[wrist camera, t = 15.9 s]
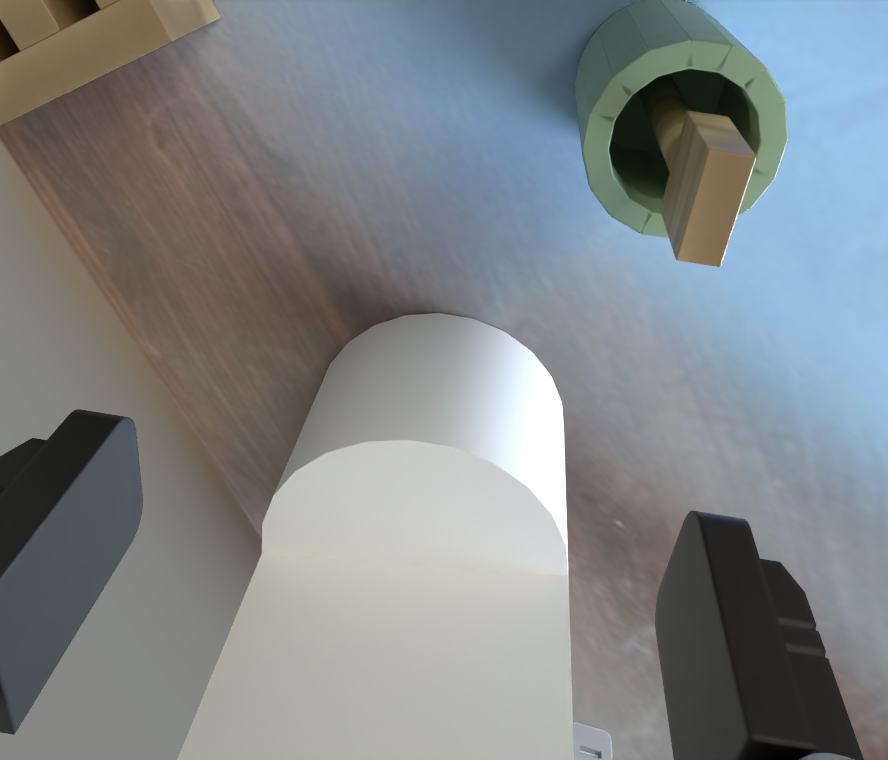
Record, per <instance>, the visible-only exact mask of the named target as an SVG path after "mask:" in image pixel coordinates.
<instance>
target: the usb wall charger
mask: <svg viewBox="0 0 888 760" xmlns="http://www.w3.org/2000/svg"><path fill="white" fill-rule="evenodd" d="M573 746H574V760H613V757H612V743H611V737H610V735H609V734H608V733H607V732H606V731H604V730H601V729H598V728H594V727H590V726H587V725H583V724H580V723H576V722H573Z"/></svg>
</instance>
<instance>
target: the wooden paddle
mask: <svg viewBox="0 0 888 760" xmlns="http://www.w3.org/2000/svg"><path fill="white" fill-rule="evenodd" d="M638 93H639V95H640V98H641V100H642V103H643V106H644V108H645V111H646V113H647V116H648V118H649V121H650V123H651V126H652V128H653V131H654V134H655V136H656V139H657V141H658V144H659V146H660V149H661V151H662V154H663V157H664V159H665V162H666V164H667V167H668V169H669V172H670V175H669V178H668V182H667V186H666V189H665V193H664V197H663V200H662V204H661V208H660V211H661V215H662V218H663V221H664V224H665V227H666V230H667V233H668V236H669V239H670V243H671V246H672V249H673V252H674V255H675V258H676V260H678V261H684V262H691V263H697V264H704V265H710V266H717V267H720V266H721V264H722V261H723V258H724V255H725V252H726V249H727V246H728V243H729V240H730V237H731V233H732V230H733V227H734V224H735V221H736V218H737V215H738V212H739V209H740V206H741V203H742V200H743V197H744V194H745V191H746V188H747V185H748V182H749V179H750V176H751V173H752V170H753V167H754V164H755V161H756V155H755V154H754V152H753V151H752V150H751V148H750V147H749V145H748V144H747V142H746V141H745V140H744V138H743V137H742V135H741V134H740V133H739V131H738V130H737V128H736V127H735V125H734V124H733V123H732V121H731V120H730V118H729V117H727V116H720V115H714V114H707V113H700V112H693V111H691V110H690V108H689V107H688V105H687V103H686V101H685V100H684V98H683V96H682V94H681V93H680V91H679V89H678V87H677V86H676V84H675V82H674V81H673V79H672V77H671V75H670V74H666V75H662V76H659V77H657V78H655V79H654V80H653V81H651V82H650V83H648V84H647V85H646V86H644V87H643V88H641V89H640V90H639V91H638Z"/></svg>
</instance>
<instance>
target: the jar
mask: <svg viewBox="0 0 888 760" xmlns="http://www.w3.org/2000/svg"><path fill="white" fill-rule="evenodd" d="M666 74H670V75H671V77H672V79H673V81H674V82H675V84H676V86H677V87H678V89H679V91H680V93H681V94H682V96H683V98H684V100H685V101H686V103H687V105H688V107H689V108H690V110H691V111H693V112H700V113H707V114H714V115H720V116H727V117H729V118H730V120H731V121H732V123H733V124H734V125H735V127H736V128H737V130H738V131H739V133H740V134H741V135H742V137H743V138H744V140H745V141H746V142H747V144H748V145H749V147H750V148H751V150H752V151H753V152H754V154H755V155H756V161H755V164H754V167H753V170H752V173H751V176H750V179H749V182H748V185H747V188H746V191H745V194H744V197H743V200H742V203H741V206H740V209H739V212H738V215H737V217H739V216H740V215H742V214H743V213H745V212H747V211H748V209H749V210H750V209H751V208H752V206H753V205H754V204H755V203H756V201H757V200H758V199H759V198H760V197H761V195H762V194H763V193H764V192H765V190H766V189H767V188H768V187H769V186H770V184H771V183H772V182H773V181H774V179H775V177H776V175H777V172H778V169H779V166H780V163H781V160H782V157H783V154H784V151H785V148H786V145H787V142H788V128H787V115H786V102H785V101H784V97H783V95H782V94H781V92H780V90H779V88H778V87H777V85H776V83H775V81H774V80H773V78H772V76H771V74H770V73H769V71H768V69H767V68H766V67H765V65H764V64H763V63H761V62H760V61H759V60H758V59H757V58H756V57H755V56H754V55H753V54H752V53H751V52H750V51H749V50H748V49H747V48H745V47H744V46H743V45H742V44H741V43H740V42H739V41H738V40H737V39H736V38H735V37H734V36H733V35H732V34H731V33H730V32H729V31H727V30H726V29H725V28H724V27H723V26H722V25H721V24H720V23H719V22H718V21H717V20H716V19H714V18H713V17H711V16H710V15H708V14H707V13H705V12H704V11H703V10H702V9H700V8H698V7H696V6H695V5H693V4H692V3H689V2H685V1H681V0H644V1H640V2H637V3H634V4H631V5H629V6H627V7H625V8H623V9H621V10H619V11H618V12H616V13H615V14H613V15H612V16H611V17H610V18H608V19H607V20H606V21H605V22H604V23H603V24H602V25H601V26H600V27H599V28H598V29H597V30H596V31H595V33H594V34H593V36H592V37H591V38H590V40H589V41H588V43H587V45H586V47H585V49H584V51H583V53H582V55H581V58H580V61H579V65H578V69H577V76H576V83H575V97H576V105H577V114H578V122H579V131H580V139H581V147H582V154H583V159H584V164H585V169H586V174H587V179H588V184H589V186H590V189H591V190H592V192H593V193H594V194H595V196H596V197H597V199H598V200H599V201H600V203H601V204H602V206H603V207H604V208H605V210H606V211H607V213H608V214H609V215H611V217H613V218H615V219H616V220H618V221H620V222H621V223H623V224H625V225H626V226H628V227H630V228H631V229H633V230H635V231H636V232H638V233H641V234H644V235H651V236H658V237H665V238H669V236H668V233H667V230H666V227H665V224H664V221H663V218H662V215H661V211H660V208H661V204H662V200H663V197H664V193H665V189H666V186H667V182H668V178H669V175H670V172H669V169H668V167H667V164H666V162H665V159H664V157H663V154H662V151H661V149H660V146H659V144H658V141H657V139H656V136H655V134H654V131H653V128H652V126H651V123H650V121H649V118H648V116H647V113H646V111H645V108H644V106H643V103H642V100H641V98H640V95H639V93H638V91H639V90H640V89H641V88H643V87H644V86H646V85H647V84H648V83H650V82H651V81H653V80H654V79H655V78H657V77H659V76H662V75H666Z"/></svg>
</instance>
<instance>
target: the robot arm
mask: <svg viewBox="0 0 888 760" xmlns="http://www.w3.org/2000/svg"><path fill="white" fill-rule="evenodd" d="M142 507H143V495H142V486H141V475H140V465H139V455H138V445H137V436H136V428H135V424H134V422H133V420H132V419H131V418H129V417H123V416H117V415H111V414H105V413H98V412H92V411H86V410H75V411H73V412H72V413H71V414H70V415H69V416H68V417H67V418H66V419H65V420H64V422H63V423H62V424H61V425H60V426H59V427H58V428H57V429H56V431H55V432H54V433H53V434H52V435H51V436H50V438H49V439H48V440H42V439H36V438H32V439H30V440H28V441H26V442H25V443H23V444H21V445H19V446H18V447H16V448H14V449H12V450H11V451H9V452H7V453H5V454H4V455H2V456H0V732H2V733H8V734H15V733H16V731H17V730H18V728H19V726H20V725H21V723H22V721H23V720H24V718H25V716H26V715H27V713H28V712H29V710H30V708H31V707H32V705H33V703H34V702H35V700H36V698H37V697H38V695H39V694H40V692H41V690H42V689H43V687H44V685H45V684H46V682H47V680H48V679H49V677H50V675H51V674H52V672H53V670H54V669H55V667H56V666H57V664H58V662H59V661H60V659H61V657H62V656H63V654H64V653H65V651H66V649H67V648H68V646H69V644H70V643H71V641H72V639H73V638H74V636H75V635H76V633H77V631H78V629H79V628H80V626H81V625H82V623H83V621H84V620H85V618H86V616H87V615H88V613H89V612H90V610H91V608H92V607H93V605H94V603H95V602H96V600H97V598H98V597H99V595H100V593H101V592H102V590H103V589H104V587H105V585H106V584H107V582H108V580H109V578H110V577H111V576H112V573H113V572H114V571H115V569H116V567H117V566H118V564H119V562H120V561H121V559H122V557H123V556H124V554H125V553H126V551H127V549H128V547H129V546H130V544H131V542H132V541H133V539H134V537H135V535H136V532H137V530H138V527H139V523H140V519H141V514H142ZM655 628H656V636H657V643H658V650H659V657H660V664H661V671H662V678H663V686H664V693H665V700H666V707H667V714H668V721H669V728H670V735H671V742H672V750H673V757H674V760H864V759H863V756H862V754H861V751H860V748H859V745H858V742H857V739H856V737H855V734H854V731H853V728H852V725H851V722H850V719H849V717H848V714H847V711H846V708H845V705H844V702H843V700H842V697H841V694H840V691H839V688H838V685H837V682H836V680H835V677H834V674H833V671H832V668H831V665H830V663H829V660H828V659H827V658H825V652H826V651H825V648H824V646H823V643H822V640H821V637H820V634H819V631H816V623H815V620H814V617H813V614H812V611H811V609H810V606H809V603H808V600H807V597H806V594H805V592H804V591H803V590H802V588H801V587H800V586H799V585H798V584H797V582H796V581H795V580H794V579H793V577H792V576H791V575H790V574H789V572H788V571H787V570H786V569H785V568H784V566H783V565H782V564H781V563H780V562H777V561H771V560H765V559H760V558H759V555H758V552H757V548H756V545H755V542H754V538H753V535H752V532H751V529H750V526H749V524H748V522H747V521H746V520H745V519H741V518H735V517H729V516H722V515H716V514H710V513H704V512H698V511H690V512H689V513H688V515H687V516H686V518H685V520H684V522H683V525H682V528H681V530H680V533H679V536H678V538H677V541H676V544H675V547H674V549H673V552H672V555H671V557H670V560H669V563H668V565H667V568H666V571H665V573H664V576H663V579H662V581H661V584H660V587H659V591H658V596H657V602H656V612H655Z"/></svg>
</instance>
